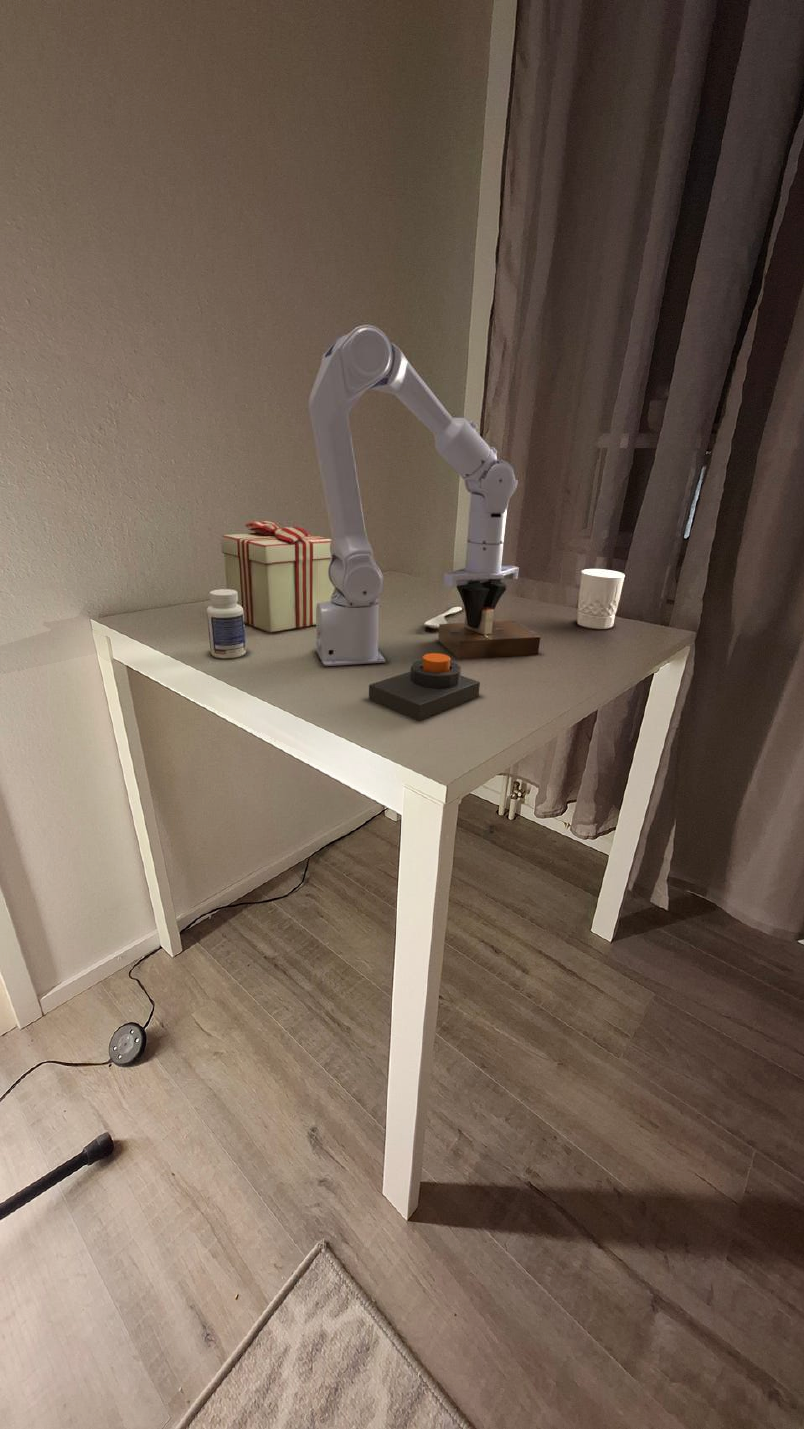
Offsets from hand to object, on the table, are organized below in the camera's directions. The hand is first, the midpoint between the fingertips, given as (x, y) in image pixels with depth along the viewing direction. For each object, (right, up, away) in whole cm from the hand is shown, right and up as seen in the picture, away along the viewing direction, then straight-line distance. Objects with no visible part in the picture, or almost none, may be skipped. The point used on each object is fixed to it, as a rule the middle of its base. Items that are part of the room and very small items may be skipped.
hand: (477, 626), depth 102 cm
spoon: (-4, +4, +18) cm, 18 cm away
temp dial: (0, -1, 0) cm, 1 cm away
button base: (-10, -13, -20) cm, 25 cm away
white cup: (+25, +3, +18) cm, 31 cm away
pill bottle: (-40, -5, -6) cm, 40 cm away
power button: (-8, -9, -20) cm, 23 cm away
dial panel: (+2, -3, +2) cm, 4 cm away
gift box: (-35, +4, +15) cm, 38 cm away
